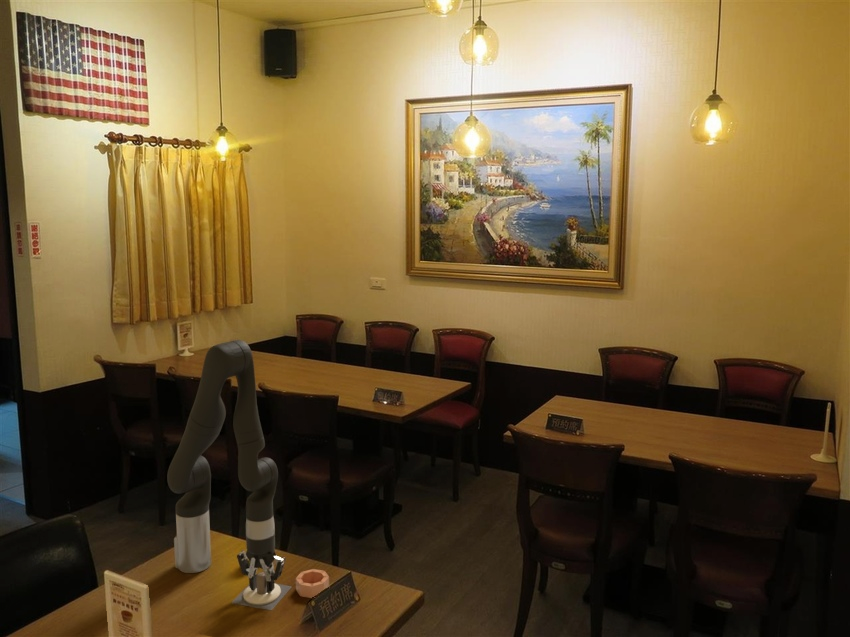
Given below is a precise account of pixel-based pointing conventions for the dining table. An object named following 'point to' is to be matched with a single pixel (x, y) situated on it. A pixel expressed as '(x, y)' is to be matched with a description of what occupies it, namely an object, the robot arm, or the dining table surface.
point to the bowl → (311, 582)
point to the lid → (261, 592)
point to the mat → (269, 606)
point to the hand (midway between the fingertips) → (262, 590)
